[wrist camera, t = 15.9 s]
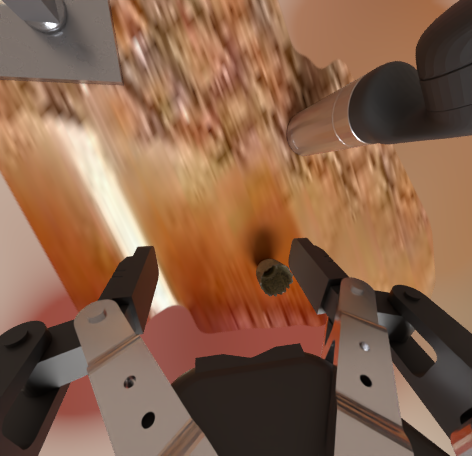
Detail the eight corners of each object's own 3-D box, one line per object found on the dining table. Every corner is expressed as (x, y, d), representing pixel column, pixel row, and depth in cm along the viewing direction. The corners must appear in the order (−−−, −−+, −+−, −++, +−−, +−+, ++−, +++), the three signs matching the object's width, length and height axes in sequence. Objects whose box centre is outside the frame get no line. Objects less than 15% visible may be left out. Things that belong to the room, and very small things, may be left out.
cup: (244, 262, 48) (255, 278, 40) (269, 245, 49) (284, 258, 41) (257, 284, 50) (270, 302, 43) (281, 268, 51) (298, 284, 43)
